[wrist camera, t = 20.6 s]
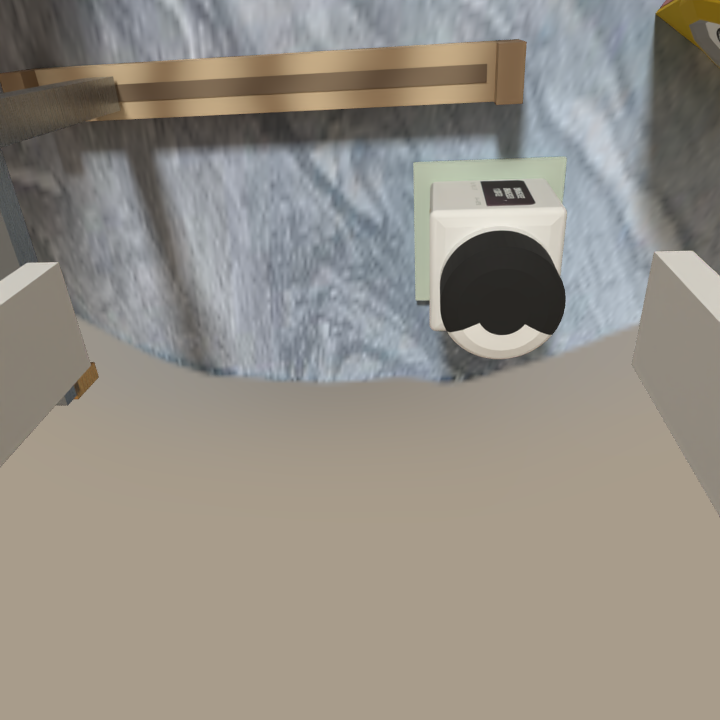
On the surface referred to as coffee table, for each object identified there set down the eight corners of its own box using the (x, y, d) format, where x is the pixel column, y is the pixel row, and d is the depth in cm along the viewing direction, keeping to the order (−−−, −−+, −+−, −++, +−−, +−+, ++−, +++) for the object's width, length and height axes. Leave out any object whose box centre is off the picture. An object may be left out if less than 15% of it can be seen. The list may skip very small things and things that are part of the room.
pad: (415, 297, 47) (415, 300, 46) (413, 162, 42) (413, 164, 41) (551, 295, 46) (552, 299, 45) (565, 156, 41) (566, 158, 40)
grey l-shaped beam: (132, 299, 46) (17, 408, 34) (75, 78, 39) (-100, 110, 26) (170, 299, 46) (69, 409, 33) (120, 75, 39) (-36, 107, 26)
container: (430, 180, 42) (428, 241, 31) (547, 176, 41) (589, 238, 30) (430, 286, 46) (428, 375, 34) (537, 284, 45) (572, 376, 33)
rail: (48, 118, 43) (14, 128, 40) (33, 68, 42) (-3, 73, 38) (514, 95, 39) (522, 103, 36) (518, 39, 38) (526, 41, 34)
